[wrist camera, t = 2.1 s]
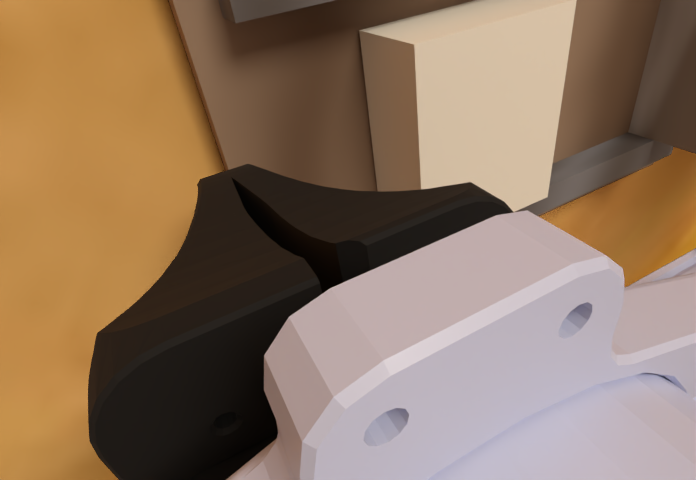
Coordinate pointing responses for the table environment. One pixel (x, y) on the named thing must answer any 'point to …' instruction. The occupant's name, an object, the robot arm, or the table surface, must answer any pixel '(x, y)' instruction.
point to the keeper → (469, 96)
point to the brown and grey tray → (351, 99)
